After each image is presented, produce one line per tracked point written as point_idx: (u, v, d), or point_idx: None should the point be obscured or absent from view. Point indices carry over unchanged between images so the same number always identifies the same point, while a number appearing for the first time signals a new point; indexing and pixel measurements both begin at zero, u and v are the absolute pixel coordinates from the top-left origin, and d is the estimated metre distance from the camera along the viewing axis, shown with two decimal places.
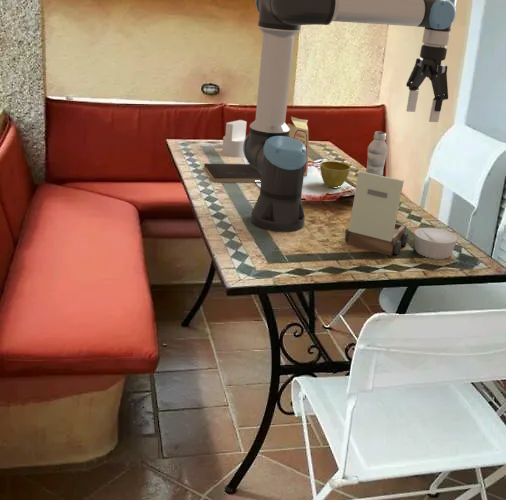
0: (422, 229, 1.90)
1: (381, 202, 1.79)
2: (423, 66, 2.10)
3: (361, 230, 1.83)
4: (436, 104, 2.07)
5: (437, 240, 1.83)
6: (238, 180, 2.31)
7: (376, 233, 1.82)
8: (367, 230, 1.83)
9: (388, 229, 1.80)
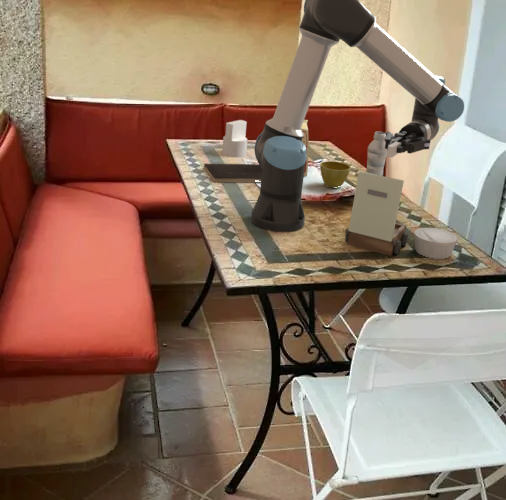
0: (422, 229, 1.90)
1: (381, 202, 1.79)
2: (406, 131, 1.94)
3: (361, 230, 1.83)
4: (401, 146, 1.84)
5: (437, 240, 1.83)
6: (238, 180, 2.31)
7: (376, 233, 1.82)
8: (367, 230, 1.83)
9: (388, 229, 1.80)
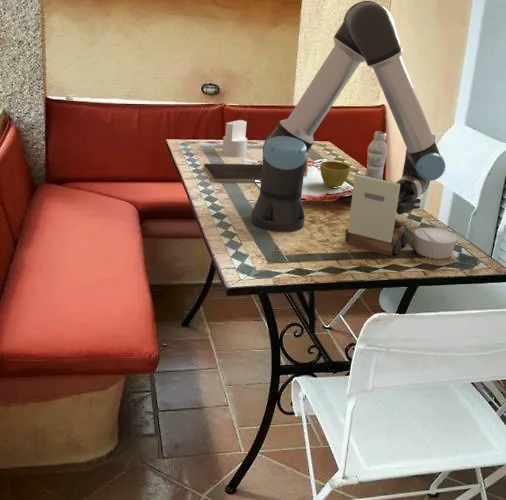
0: (422, 229, 1.90)
1: (379, 205, 1.78)
2: None
3: (360, 231, 1.83)
4: None
5: (437, 240, 1.83)
6: (238, 180, 2.31)
7: (375, 234, 1.82)
8: (367, 231, 1.82)
9: (387, 231, 1.80)
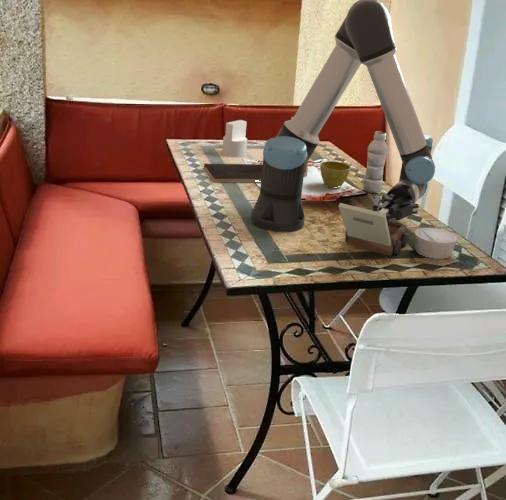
0: (422, 229, 1.90)
1: (369, 225, 1.75)
2: (394, 195, 1.90)
3: (359, 237, 1.83)
4: (389, 213, 1.79)
5: (437, 240, 1.83)
6: (238, 180, 2.31)
7: (374, 240, 1.82)
8: (365, 237, 1.82)
9: (384, 240, 1.79)
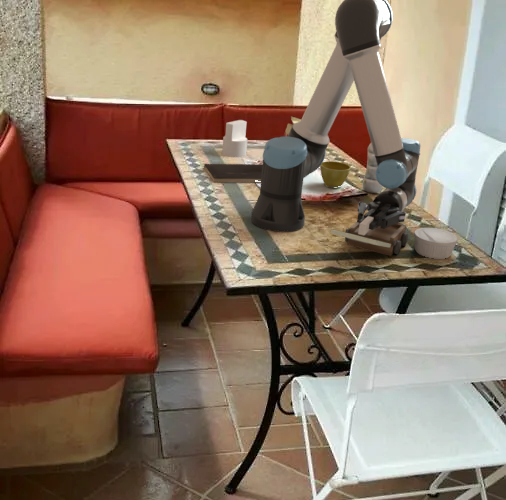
0: (422, 229, 1.90)
1: None
2: (380, 202, 1.83)
3: None
4: (374, 221, 1.73)
5: (437, 240, 1.83)
6: (238, 180, 2.31)
7: None
8: None
9: None
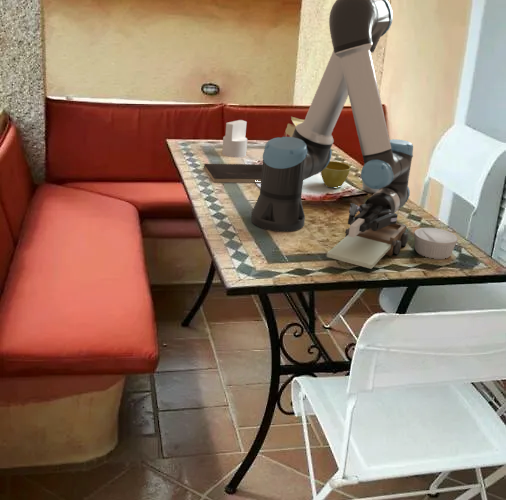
0: (422, 229, 1.90)
1: None
2: (372, 204, 1.81)
3: None
4: (364, 223, 1.70)
5: (437, 240, 1.83)
6: (238, 180, 2.31)
7: None
8: None
9: None
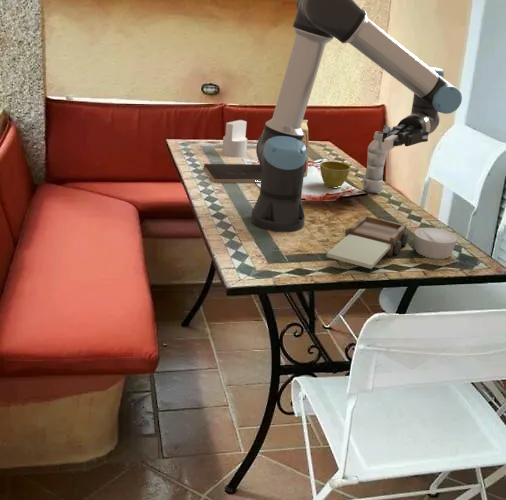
0: (422, 229, 1.90)
1: None
2: (404, 124, 1.92)
3: None
4: (398, 139, 1.82)
5: (437, 240, 1.83)
6: (238, 180, 2.31)
7: None
8: None
9: None
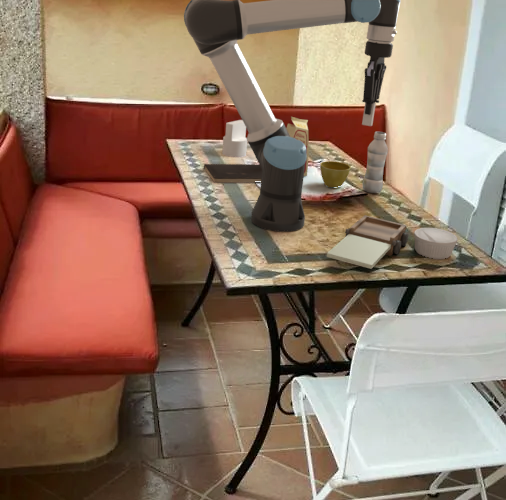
0: (422, 229, 1.90)
1: None
2: None
3: None
4: None
5: (437, 240, 1.83)
6: (238, 180, 2.31)
7: None
8: None
9: None
